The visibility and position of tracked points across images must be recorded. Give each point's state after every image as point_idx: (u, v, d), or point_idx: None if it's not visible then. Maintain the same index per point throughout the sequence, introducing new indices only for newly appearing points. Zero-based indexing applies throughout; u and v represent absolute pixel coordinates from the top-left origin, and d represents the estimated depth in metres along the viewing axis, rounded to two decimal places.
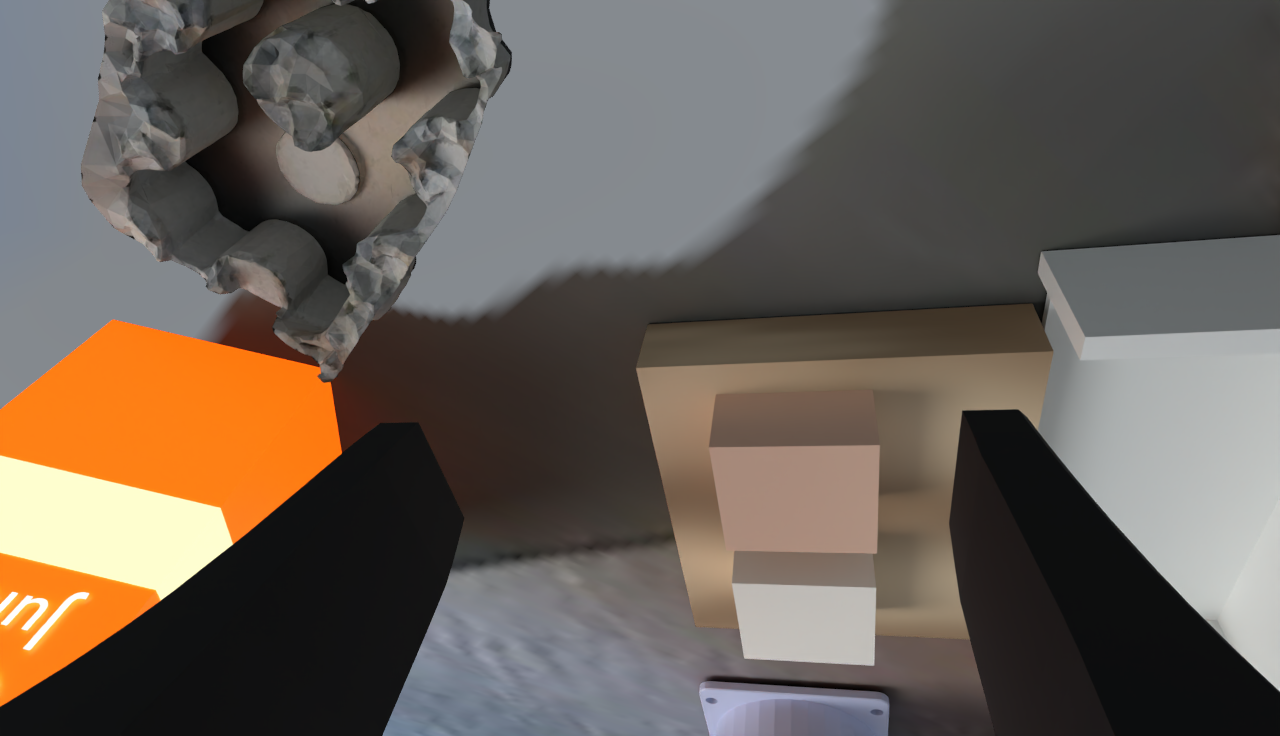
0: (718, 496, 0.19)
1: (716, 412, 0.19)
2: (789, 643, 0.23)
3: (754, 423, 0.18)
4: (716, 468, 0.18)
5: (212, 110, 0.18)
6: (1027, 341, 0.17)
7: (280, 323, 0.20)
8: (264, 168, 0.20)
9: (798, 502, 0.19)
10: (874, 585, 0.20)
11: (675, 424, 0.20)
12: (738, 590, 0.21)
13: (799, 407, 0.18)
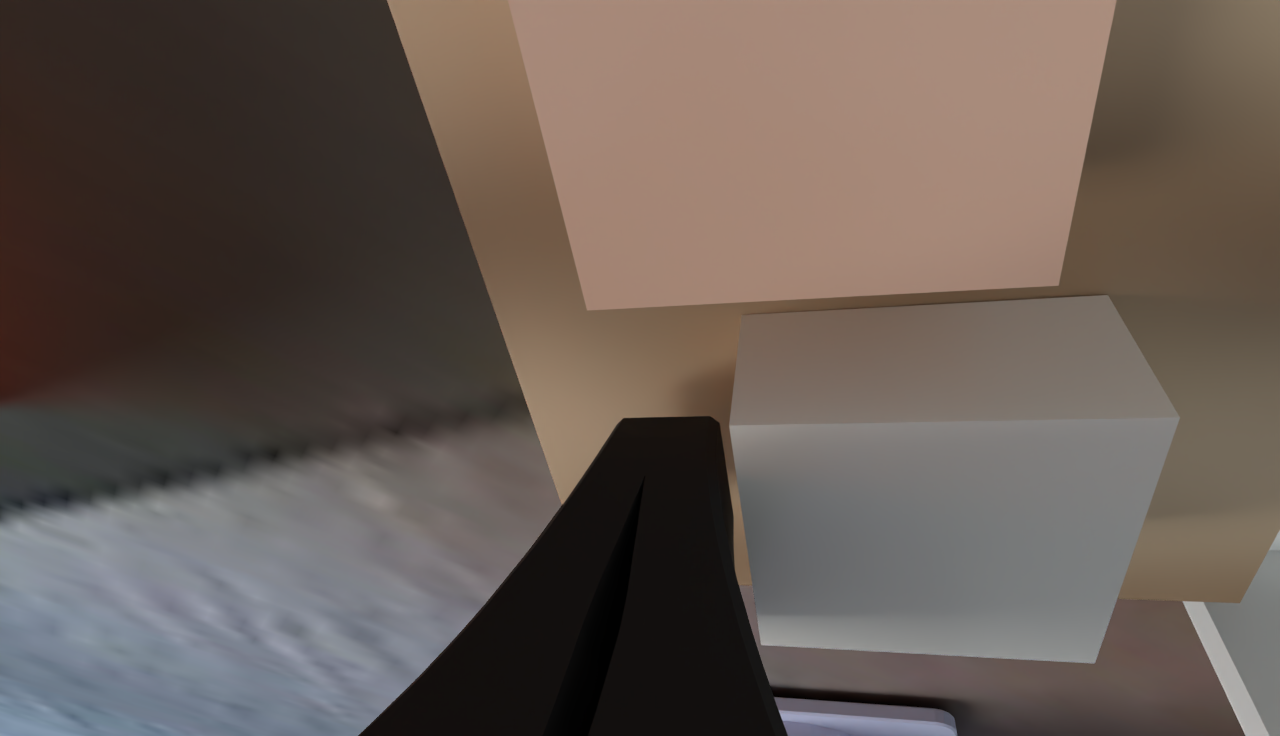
0: (530, 66, 0.06)
1: None
2: (878, 606, 0.09)
3: None
4: None
5: None
6: None
7: None
8: None
9: (806, 61, 0.05)
10: (1171, 412, 0.07)
11: None
12: (748, 449, 0.08)
13: None
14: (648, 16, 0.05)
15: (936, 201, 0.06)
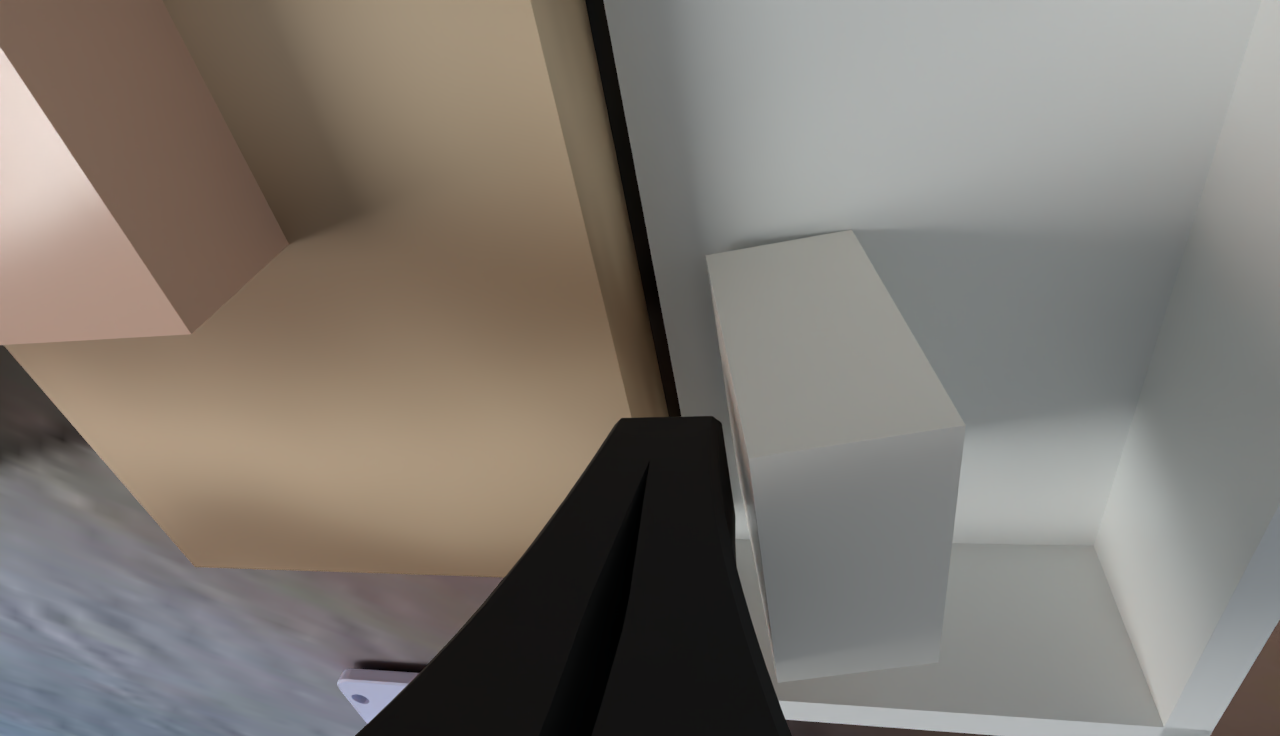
0: None
1: None
2: None
3: None
4: None
5: None
6: None
7: None
8: None
9: None
10: (846, 232, 0.10)
11: None
12: None
13: None
14: None
15: (71, 274, 0.08)
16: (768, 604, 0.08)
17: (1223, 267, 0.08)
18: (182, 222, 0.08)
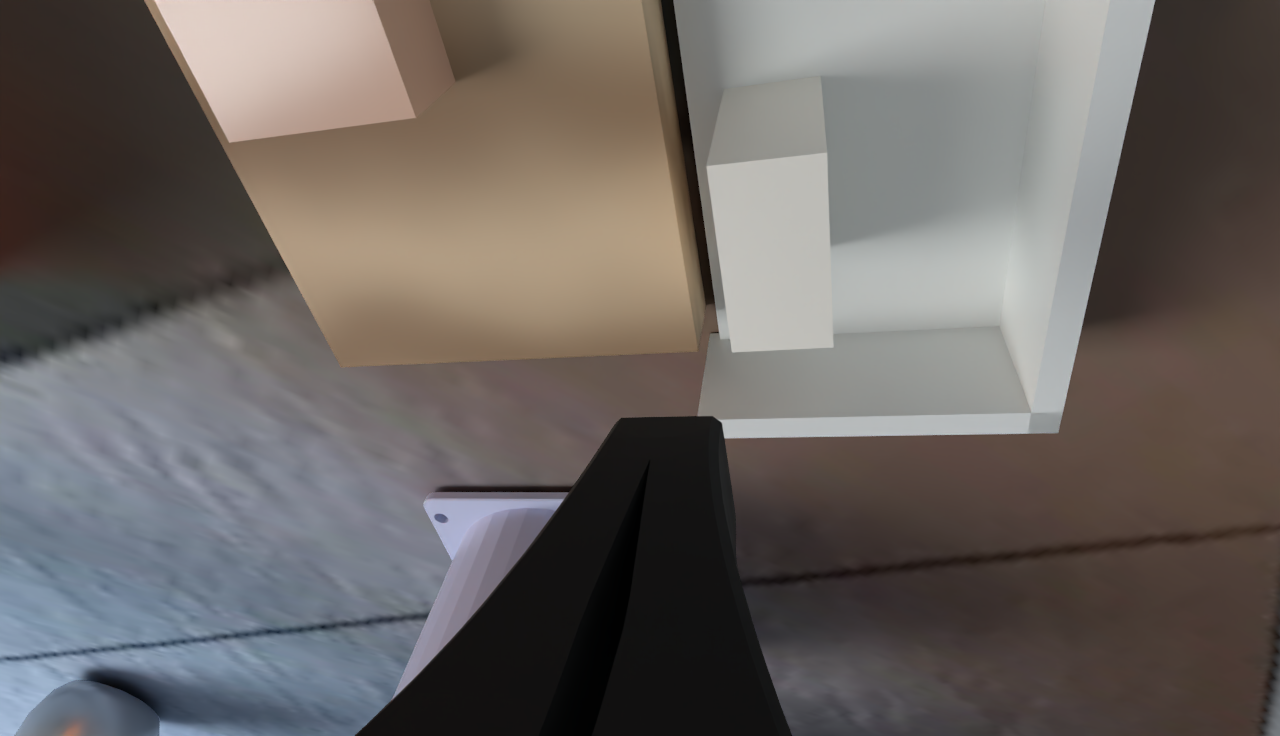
0: (165, 19, 0.13)
1: None
2: None
3: None
4: None
5: None
6: None
7: None
8: None
9: (271, 15, 0.12)
10: (816, 77, 0.15)
11: None
12: (827, 168, 0.12)
13: None
14: None
15: (348, 77, 0.13)
16: (723, 282, 0.14)
17: (1048, 82, 0.14)
18: (411, 49, 0.13)
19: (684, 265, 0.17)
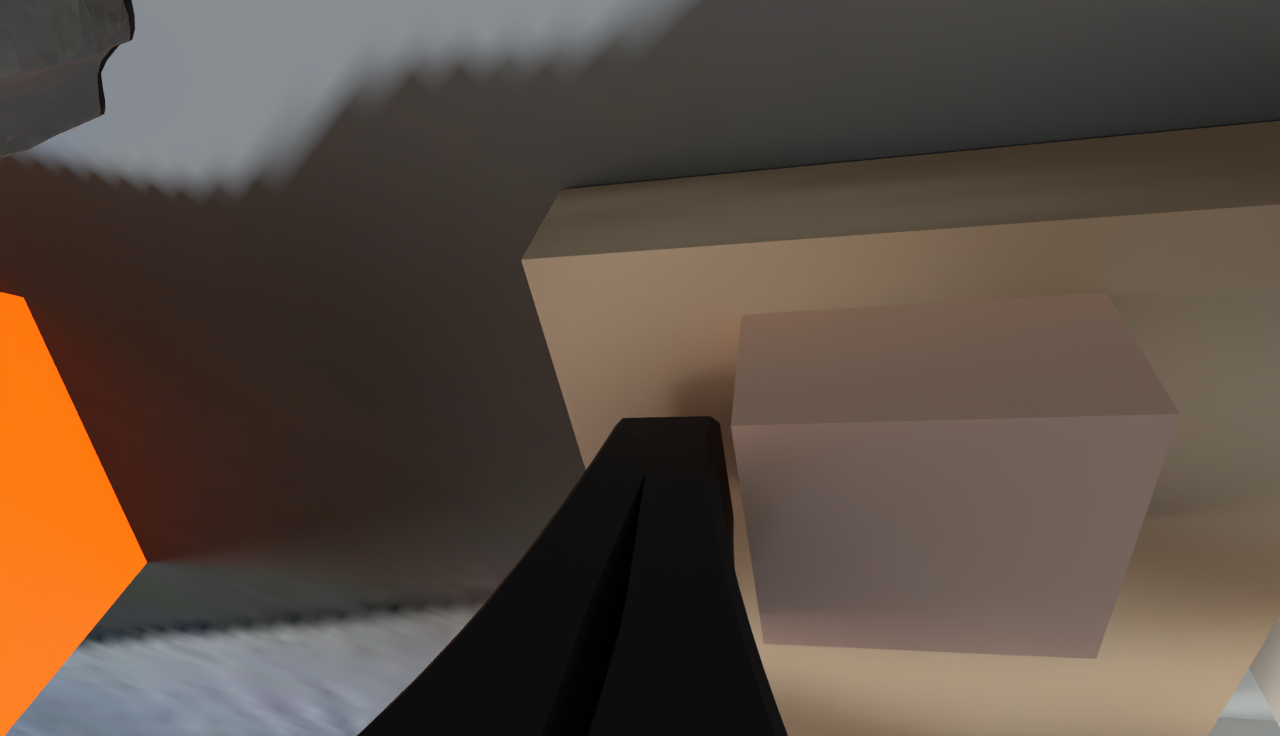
0: (750, 537, 0.09)
1: (745, 349, 0.08)
2: None
3: (834, 368, 0.08)
4: (747, 475, 0.08)
5: None
6: None
7: None
8: None
9: (935, 553, 0.08)
10: None
11: (613, 386, 0.10)
12: None
13: (940, 335, 0.08)
14: (835, 525, 0.08)
15: (1015, 616, 0.09)
16: None
17: None
18: None
19: (1219, 708, 0.12)
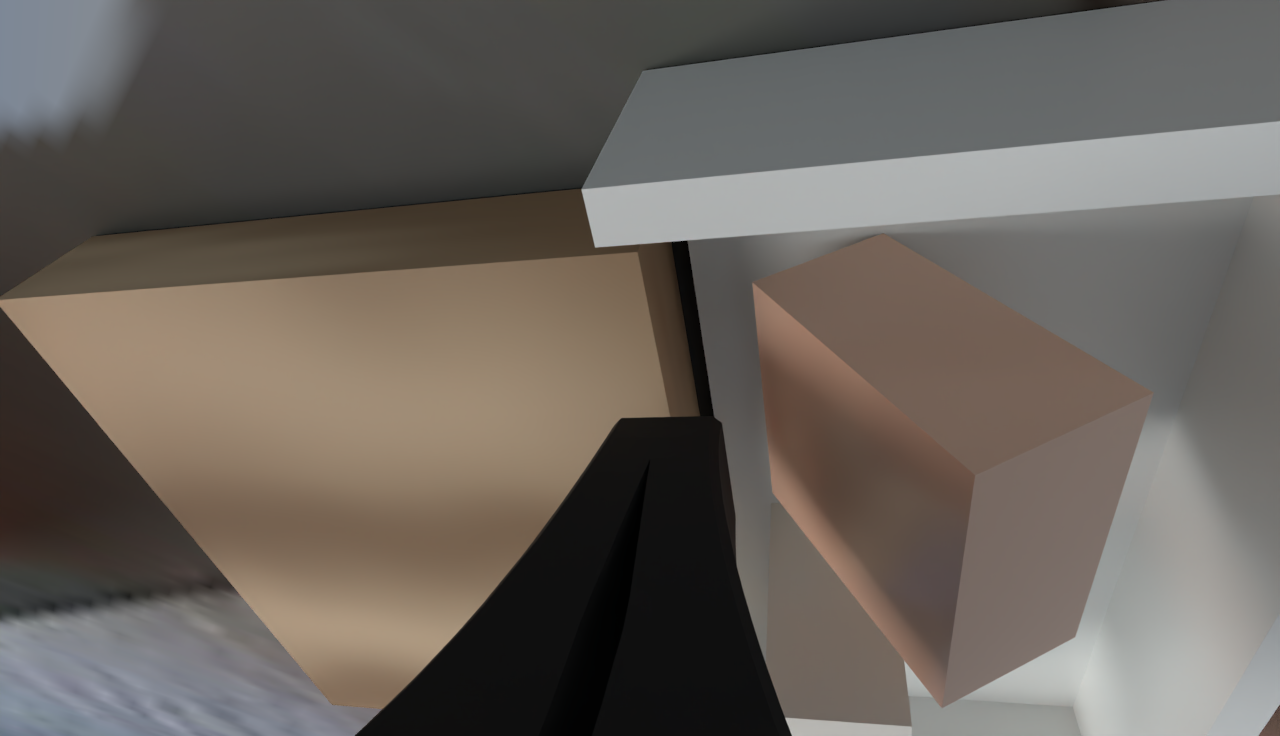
0: (1109, 518, 0.08)
1: (1035, 438, 0.07)
2: None
3: (993, 366, 0.07)
4: None
5: None
6: None
7: None
8: None
9: None
10: None
11: (117, 401, 0.12)
12: None
13: (879, 331, 0.08)
14: None
15: None
16: None
17: (1159, 565, 0.12)
18: None
19: None
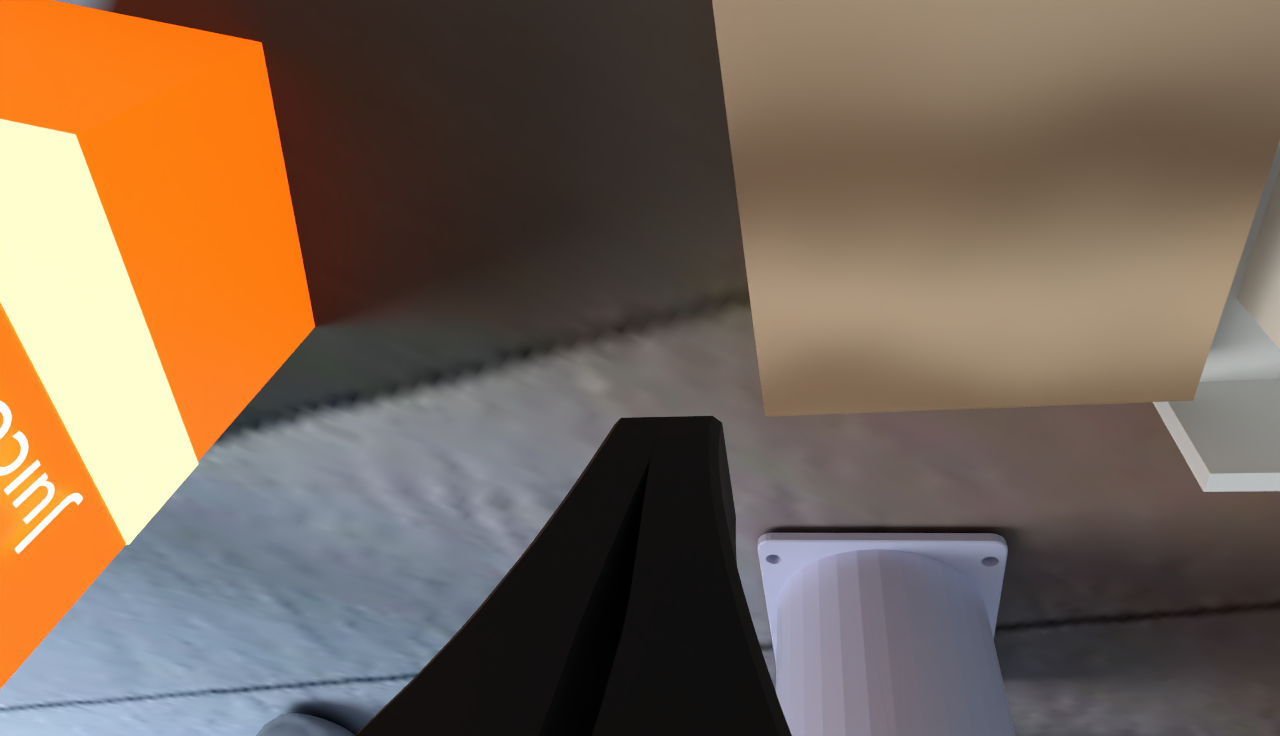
0: None
1: None
2: None
3: None
4: None
5: None
6: None
7: None
8: None
9: None
10: None
11: (756, 19, 0.14)
12: None
13: None
14: None
15: None
16: None
17: None
18: None
19: (1218, 315, 0.16)
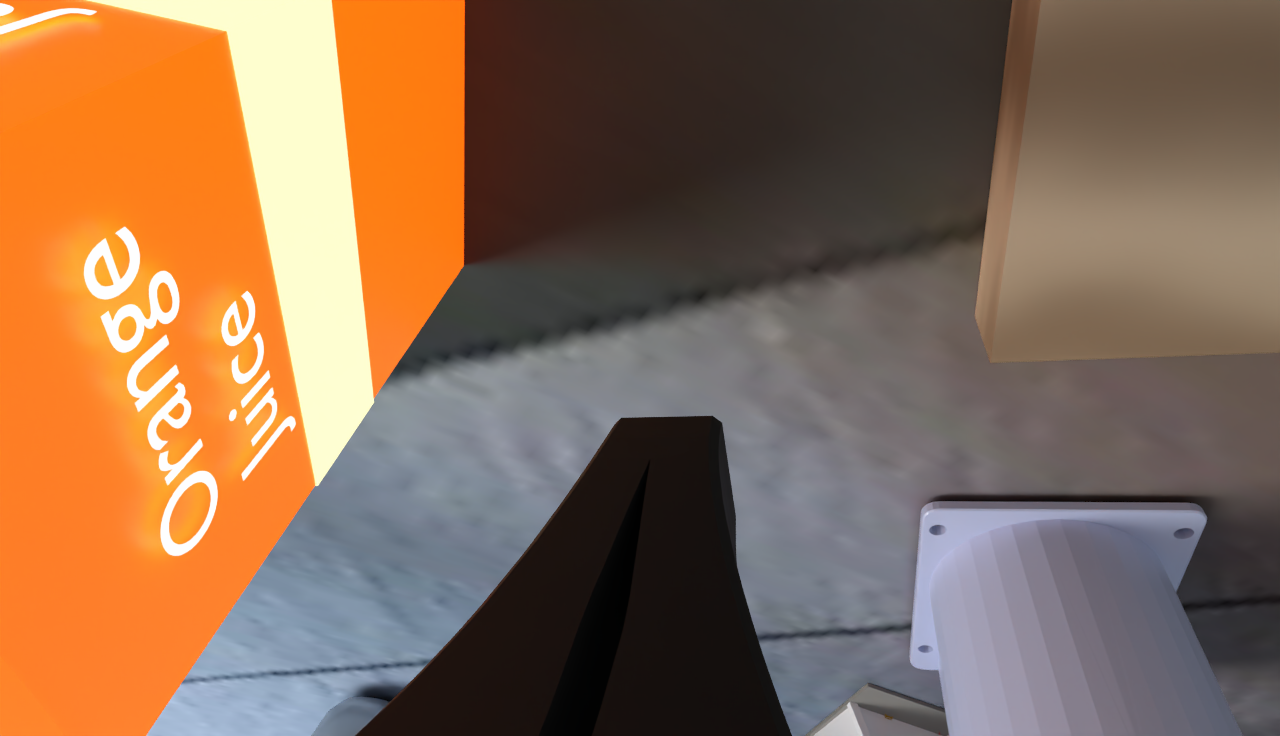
0: None
1: None
2: None
3: None
4: None
5: None
6: None
7: None
8: None
9: None
10: None
11: None
12: None
13: None
14: None
15: None
16: None
17: None
18: None
19: None
